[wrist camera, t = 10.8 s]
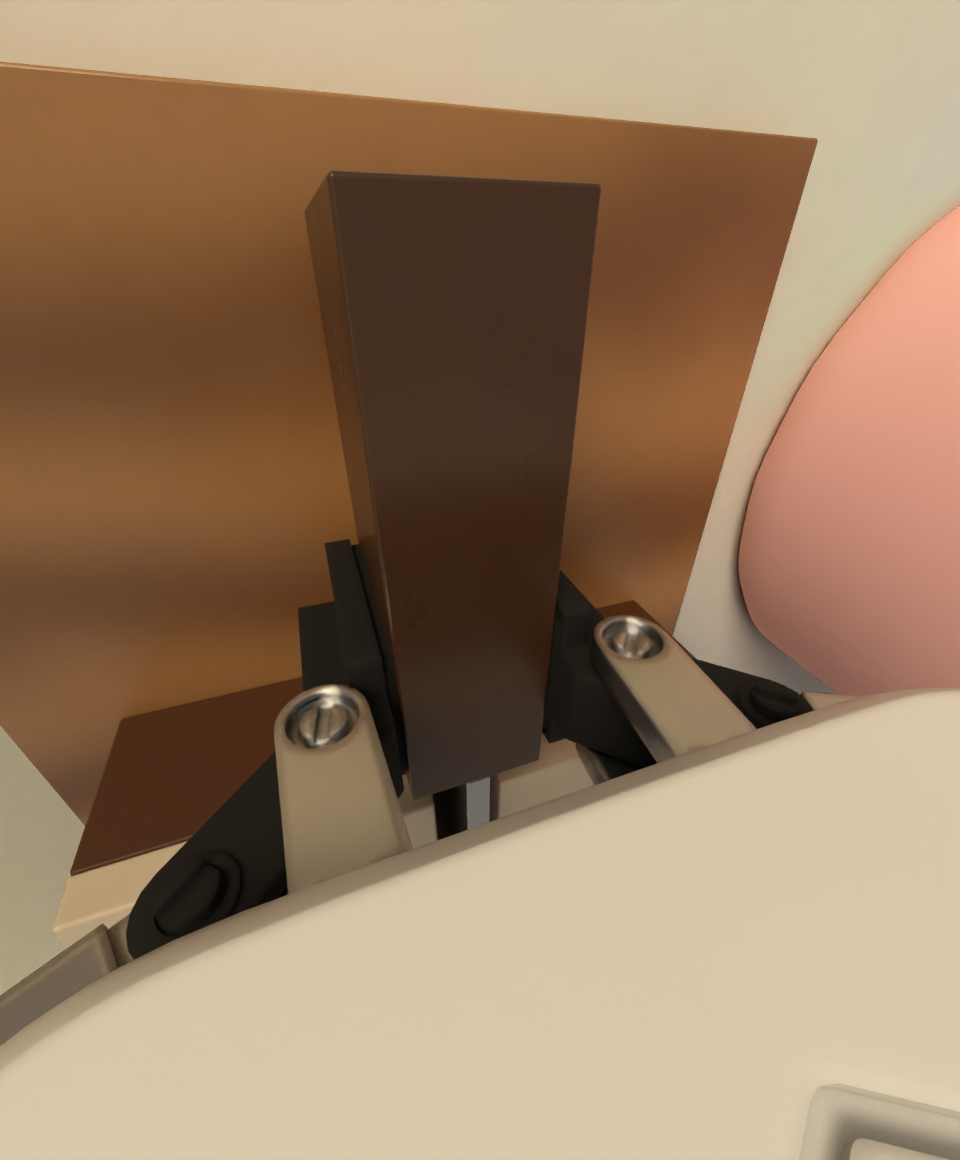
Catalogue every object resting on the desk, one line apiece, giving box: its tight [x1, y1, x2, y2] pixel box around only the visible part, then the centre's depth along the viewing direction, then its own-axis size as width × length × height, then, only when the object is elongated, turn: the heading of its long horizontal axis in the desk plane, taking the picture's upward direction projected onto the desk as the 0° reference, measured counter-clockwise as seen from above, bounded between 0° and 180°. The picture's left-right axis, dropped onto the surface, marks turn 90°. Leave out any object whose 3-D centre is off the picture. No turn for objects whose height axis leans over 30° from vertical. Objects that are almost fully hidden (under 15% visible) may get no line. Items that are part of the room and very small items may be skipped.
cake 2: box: [489, 600, 696, 822], centre depth 18 cm, size 14×7×5 cm, turn 0°
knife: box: [304, 170, 601, 840], centre depth 13 cm, size 24×3×4 cm, turn 0°
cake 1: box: [52, 677, 438, 947], centre depth 15 cm, size 14×7×5 cm, turn 0°
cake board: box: [0, 62, 817, 826], centre depth 17 cm, size 30×20×1 cm, turn 0°
